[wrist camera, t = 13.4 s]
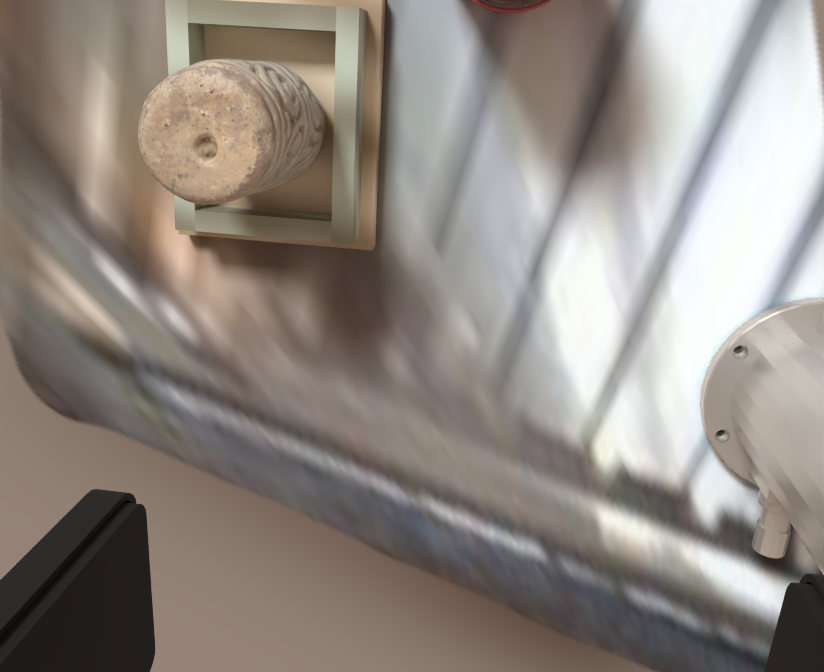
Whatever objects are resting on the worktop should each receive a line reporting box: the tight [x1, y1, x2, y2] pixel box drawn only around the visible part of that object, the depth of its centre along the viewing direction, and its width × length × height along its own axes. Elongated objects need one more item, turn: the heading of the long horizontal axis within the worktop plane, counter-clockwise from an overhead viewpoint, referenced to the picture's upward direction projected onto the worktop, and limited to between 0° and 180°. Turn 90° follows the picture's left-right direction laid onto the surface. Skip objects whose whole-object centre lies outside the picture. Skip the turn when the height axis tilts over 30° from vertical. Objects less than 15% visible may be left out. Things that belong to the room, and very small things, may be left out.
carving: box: [138, 59, 326, 205], centre depth 38 cm, size 6×8×12 cm
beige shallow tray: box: [165, 0, 386, 250], centre depth 43 cm, size 14×12×4 cm
